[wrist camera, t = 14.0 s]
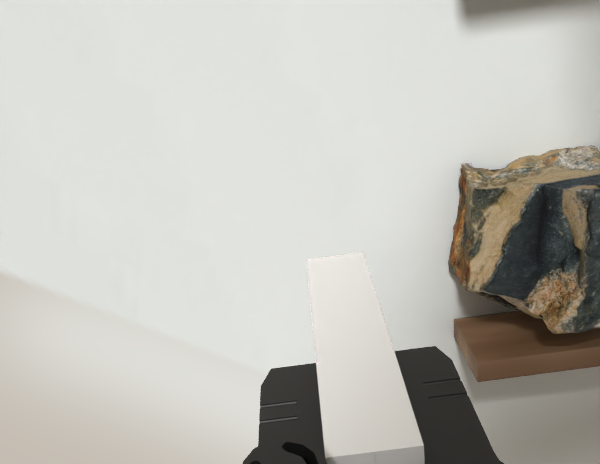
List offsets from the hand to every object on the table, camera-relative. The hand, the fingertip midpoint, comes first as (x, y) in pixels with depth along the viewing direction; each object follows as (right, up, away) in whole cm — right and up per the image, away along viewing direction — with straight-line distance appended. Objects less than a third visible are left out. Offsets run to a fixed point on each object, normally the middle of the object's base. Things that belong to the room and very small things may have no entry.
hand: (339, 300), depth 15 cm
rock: (+11, +2, +15) cm, 19 cm away
